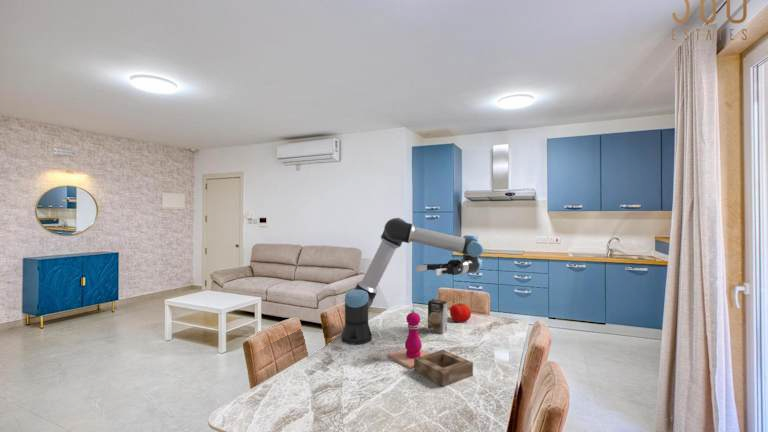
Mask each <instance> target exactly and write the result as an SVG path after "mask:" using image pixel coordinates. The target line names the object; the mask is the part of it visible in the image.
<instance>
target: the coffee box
mask: <svg viewBox="0 0 768 432" xmlns="http://www.w3.org/2000/svg"><path fill="white" fill-rule="evenodd" d="M447 331H448V301H446V300H441V299H435V298H432V299H430V300H429V301H427V332H431V333H436V334H440V335H444V334H445V333H446V332H447Z"/></svg>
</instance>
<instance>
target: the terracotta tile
mask: <svg viewBox="0 0 768 432" xmlns="http://www.w3.org/2000/svg"><path fill="white" fill-rule="evenodd" d="M406 351H407V349H406V348H403V349H400V350H396V351H393V352H389V353H387V354H386V357H388V358H390V359H391V360H394V361H395V362H397V363H399V364H401V365H403V366H405V368H407V369H410V370H412V369H413V370H414V358H408V357H407V356H406ZM419 351H420V352H421V356H424V355H427V354H430V353H431V352H428V351H426V350H424V349H422V348H421V349H420V350H419Z"/></svg>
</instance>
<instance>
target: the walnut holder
mask: <svg viewBox="0 0 768 432" xmlns="http://www.w3.org/2000/svg"><path fill="white" fill-rule="evenodd" d="M429 353H430V354H427V355H424V356H420V357H417V358H414V368H413V371H414V372H415V373H417V374H419V375H420V376H422V377H424V378H426V379H428V380H430V381H432V382H433V383H435V384H436V385H439V386H441V387H442V388H445V387H447V386H449V385H452V384H454V383H457V382H460V381H462V380H465V379H468V378H470V377H472V376H474V374H473V373H474V362H473V361H470V360H468V359H466V358H464V357H461V356H459V355H456V354H455V353H452V352H449V351H447V350H445V349H441V350H438V351H434V352H429Z"/></svg>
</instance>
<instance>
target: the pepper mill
mask: <svg viewBox="0 0 768 432" xmlns="http://www.w3.org/2000/svg"><path fill="white" fill-rule="evenodd" d="M420 322H421V316H420V315H419V314H418V313H417V312H416V310H415V309H411V311H410V313H408V314H407V315H406V323H407V328H408V335H407V338H406V339H405V343H404V347H405V348H404V349H407V351H406V356H407V357H408V358H417V357H420V356H421V352H420V351H419V350H420V349H422V348H423V346H422V345H423V344H422V341H421V339H420V336H419V329H420V324H419V323H420Z"/></svg>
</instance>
